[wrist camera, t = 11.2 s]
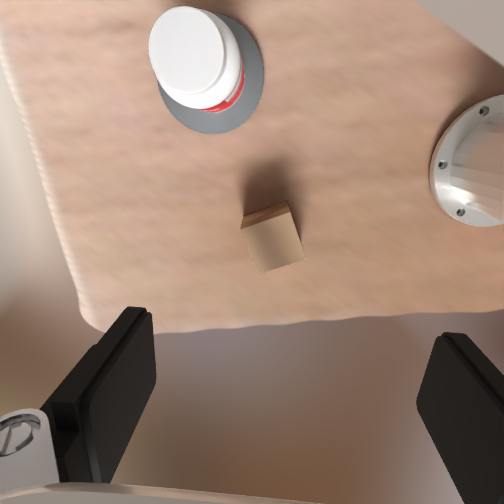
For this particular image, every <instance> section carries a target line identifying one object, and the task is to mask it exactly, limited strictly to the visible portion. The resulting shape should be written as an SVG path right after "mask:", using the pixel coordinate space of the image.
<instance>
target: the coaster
mask: <svg viewBox="0 0 504 504" xmlns="http://www.w3.org/2000/svg"><path fill="white" fill-rule="evenodd" d="M211 13H212V12H211ZM213 14H214V15H216V16H217V17H219V18H220V19H221V20H222V21H223V22H224V23H225V24H226V25H227V26H228V27H229V29H230V30H231V32H232V33H233V35H234V37H235V39H236V41H237V44H238V47H239V50H240V54H241V57H242V60H243V64H244V68H245V84H244V88H243V91H242V93H241V95H240V97H239V99H238V100H237V101H236V102H235V103H234V104H233V105H232V106H231V107H230V108H228V109H226V110H224V111H221V112H205V111H201V110H197V109H193V108H189V107H186V106H184V105H182V104H180V103H178V102H176V101H175V100H174V99H172V98H171V97H170V96H169V95H168V94H167V93H166V92H165V90H164V89H163V88H162V86H161V85H160V83H159V81H158V79H157V81H158V86H159V90H160V93H161V96H162V98H163V101H164V102H165V104H166V106H167V108H168V109H169V111H170V112H171V113H172V114H173V116H174V117H175V118H176V119H177V120H178V121H180V122H181V123H182V124H183V125H185V126H186V127H188V128H190V129H192V130H194V131H197V132H200V133H205V134H220V133H225V132H228V131H231V130H233V129H235V128H237V127H239V126H240V125H241V124H243V123H244V122H245V121H246V120H247V119H248V118H249V117H250V116H251V114H252V113H253V112H254V110H255V109H256V107H257V105H258V103H259V100H260V97H261V94H262V90H263V84H264V68H263V62H262V58H261V55H260V51H259V49H258V47H257V44H256V43H255V41H254V39H253V38H252V36H251V35H250V34H249V32H248V31H247V30H246V29H245V28H244V27H243V26H242V25H241V24H239V23H238V22H237V21H235V20H233V19H232V18H230V17H228V16H225V15H222V14H218V13H213Z"/></svg>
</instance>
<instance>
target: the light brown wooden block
mask: <svg viewBox="0 0 504 504" xmlns="http://www.w3.org/2000/svg"><path fill="white" fill-rule="evenodd" d="M240 230H241V233H242V235H243V238H244V240H245V243H246V245H247V248H248V250H249V253H250V255H251V258H252V260H253V263H254V265H255V268H256V270H257V273H258V274H261V273H264V272H267V271H270V270H273V269H276V268H279V267H282V266H285V265H289V264H292V263H295V262H298V261H301V260H304V259H306V257H305V254H304V251H303V247H302V244H301V241H300V238H299V235H298V232H297V229H296V226H295V224H294V221H293V218H292V215H291V212H290V209H289V206H288V203H287V201H285V202H282V203H279V204H276V205H274V206H271V207H268V208H265V209H262V210H260V211H257V212H254V213H251V214H248V215H246V216H243V220H242V224H241V228H240Z"/></svg>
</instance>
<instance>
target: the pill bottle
mask: <svg viewBox="0 0 504 504" xmlns="http://www.w3.org/2000/svg"><path fill="white" fill-rule="evenodd" d="M149 56H150V61H151V64H152V66H153V69H154V71H155V74H156V76H157V79H158V81H159V83H160V85H161V86H162V88H163V89H164V90H165V92H166V93H167V94H168V95H169V96H170V97H171V98H172V99H174V100H175V101H176V102H178V103H180V104H182V105H184V106H186V107H189V108H193V109H197V110H201V111H205V112H221V111H224V110H226V109H228V108H230V107H231V106H232V105H233V104H234V103H235V102H236V101H237V100H238V99H239V97H240V95H241V93H242V91H243V88H244V84H245V68H244V64H243V60H242V57H241V54H240V50H239V47H238V44H237V41H236V39H235V37H234V35H233V33H232V32H231V30H230V29H229V27H228V26H227V25H226V24H225V23H224V22H223V21H222V20H221V19H220V18H219V17H217V16H216V15H214V14H213V13H211V12H208V11H206V10H203V9H197V8H194V7H189V6H179V7H174V8H171V9H169V10H167V11H166V12H164V13H163V14H162V15H161V16H160V17H159V18H158V19H157V20H156V22H155V24H154V25H153V27H152V30H151V33H150V37H149Z"/></svg>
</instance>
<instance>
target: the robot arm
mask: <svg viewBox="0 0 504 504" xmlns="http://www.w3.org/2000/svg"><path fill="white" fill-rule="evenodd" d="M480 110H481V112H480V114H479V111H480ZM439 162H441V164H440V166H438V164H439ZM429 180H430V187H431V191H432V194H433V196H434V199H435V201H436V202H437V204H438V205H439V206H440V208H441V209H442V210H443V211H444V212H445V213H447V214H448V215H449V216H451V217H453V218H454V219H456V220H458V221H461V222H463V223H465V224H469V225H474V226H495V225H501V224H504V94H502V95H497V96H492V97H490V98H487V99H485V100H482V101H480V102H478V103H476V104H475V105H473V106H471V107H470V108H468V109H466V110H465V111H464V112H463V113H462V114H461V115H459V116H458V117H457V118H456V119H455V120H454V121H453V122H452V123H451V124H450V125H449V127H448V128H447V129H446V130H445V132H444V133H443V135H442V136H441V138H440V140H439V141H438V143H437V145H436V148H435V150H434V153H433V155H432V160H431V164H430V173H429ZM457 210H458V211H457ZM155 383H156V363H155V350H154V336H153V323H152V314H151V313H150V312H147V310H146V308H142V307H130V306H129V307H127V308H126V309H125V310H124V311H123V312H122V313H121V315H120V316H119V317H118V318H117V320H116V321H115V322H114V323H113V325H112V326H111V327H110V328H109V329H108V331H107V332H106V333H105V334H104V336H103V337H102V338H101V339H100V341H99V342H98V343H97V344H95V345H93V346H92V347H91V348H90V349H89V350H88V351H87V352H86V354H85V355H84V356H83V357H82V359H81V360H80V361H79V362H78V363H77V364H76V366H75V367H74V368H73V370H72V371H71V372H70V373H69V374H68V376H67V377H66V378H65V379H64V380H63V381H62V383H61V384H60V385H59V386H58V388H57V389H56V390H55V391H54V392H53V394H52V395H51V396H50V397H49V398H48V399H47V401H46V402H45V403H44V404H43V406H42V407H41V408H40V409H39V410H37V409H32V408H31V409H21V410H17V411H14V412H11V413H8V414H6V415H4V416H2V417H0V504H320V503H310V502H301V501H291V500H282V499H272V498H263V497H253V496H242V495H232V494H222V493H212V492H202V491H192V490H182V489H171V488H160V487H148V486H135V485H134V486H133V485H122V484H110V482H111V480H112V478H113V475H114V473H115V471H116V469H117V467H118V464H119V462H120V460H121V458H122V456H123V454H124V452H125V449H126V447H127V445H128V443H129V441H130V439H131V436H132V434H133V432H134V430H135V428H136V426H137V423H138V421H139V419H140V417H141V415H142V413H143V410H144V408H145V406H146V404H147V402H148V400H149V397H150V395H151V393H152V391H153V389H154V386H155ZM416 402H417V403H416V404H417V410H418V412H419V414H420V416H421V418H422V420H423V422H424V424H425V426H426V428H427V430H428V432H429V434H430V436H431V438H432V440H433V442H434V444H435V446H436V448H437V450H438V452H439V454H440V456H441V458H442V460H443V462H444V464H445V466H446V468H447V470H448V472H449V474H450V476H451V478H452V480H453V482H454V484H455V486H456V488H457V490H458V492H459V494H460V496H461V498H462V500H463V502H464V504H504V375H503V374H502V373H501V372H500V371H499V370H498V369H497V368H496V367H495V365H494V364H493V363H492V362H491V361H490V360H489V359H488V358H487V357H486V356H485V355H484V354H483V352H482V351H481V350H480V349H479V348H478V347H477V346H476V345H475V344H474V342H473V341H472V340H471V339H470V338H469V337H468V336H467V335H466V334H463V333H450V332H444V333H443V334H442V335H441V336H438V337H437V338H436V340H435V343H434V346H433V349H432V352H431V355H430V359H429V362H428V365H427V368H426V371H425V375H424V378H423V381H422V384H421V387H420V390H419V393H418V396H417V400H416Z"/></svg>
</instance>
